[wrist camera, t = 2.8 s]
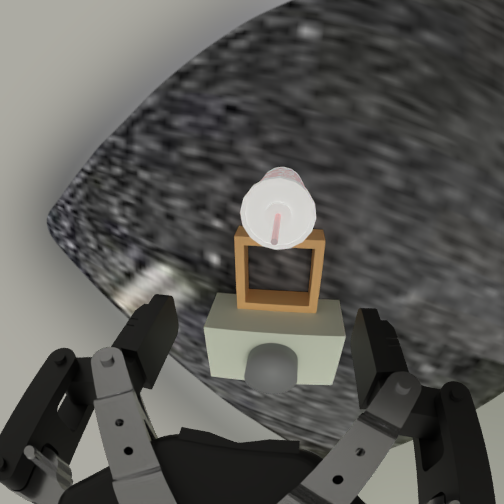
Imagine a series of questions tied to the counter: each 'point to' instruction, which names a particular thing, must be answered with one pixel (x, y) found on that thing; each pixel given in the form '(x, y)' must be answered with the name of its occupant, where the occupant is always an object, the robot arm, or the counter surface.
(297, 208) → the beverage cup
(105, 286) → the counter surface
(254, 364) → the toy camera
